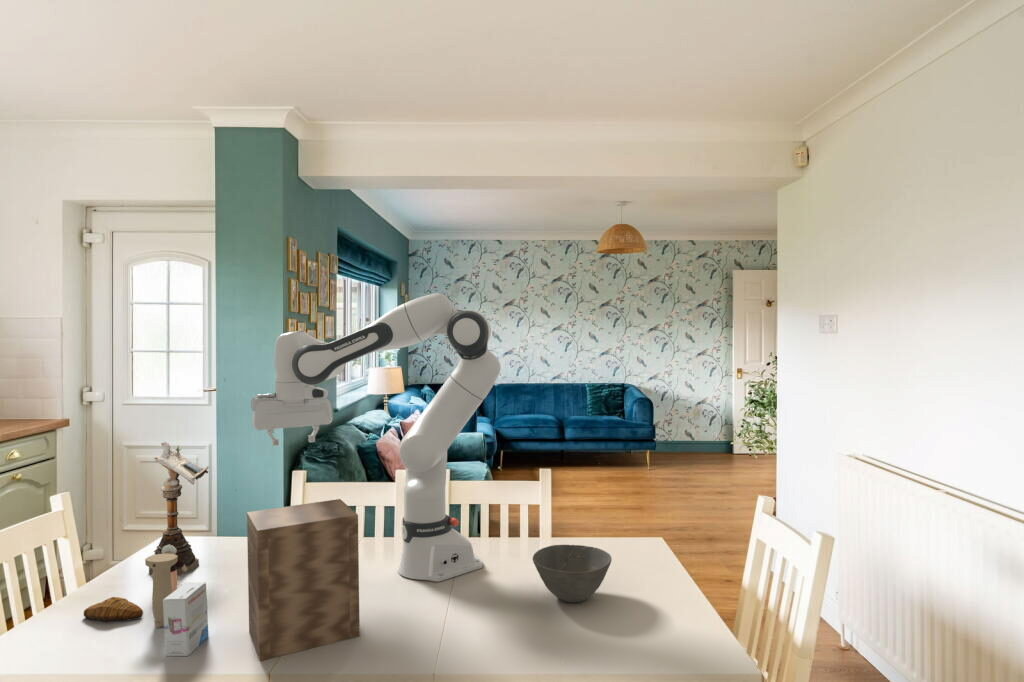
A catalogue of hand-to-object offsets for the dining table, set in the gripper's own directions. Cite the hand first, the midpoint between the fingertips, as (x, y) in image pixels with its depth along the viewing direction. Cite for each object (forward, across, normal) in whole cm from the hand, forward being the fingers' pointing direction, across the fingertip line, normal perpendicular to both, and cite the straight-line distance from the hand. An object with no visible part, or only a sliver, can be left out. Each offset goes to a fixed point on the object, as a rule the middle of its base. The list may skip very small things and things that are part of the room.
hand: (293, 443), depth 174 cm
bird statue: (+34, -26, +17) cm, 46 cm away
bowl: (+35, +54, -52) cm, 82 cm away
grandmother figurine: (+34, -30, -2) cm, 46 cm away
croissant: (+34, -42, -8) cm, 55 cm away
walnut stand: (+34, -6, -38) cm, 51 cm away
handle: (+34, -32, -18) cm, 50 cm away
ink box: (+34, -28, -31) cm, 54 cm away
